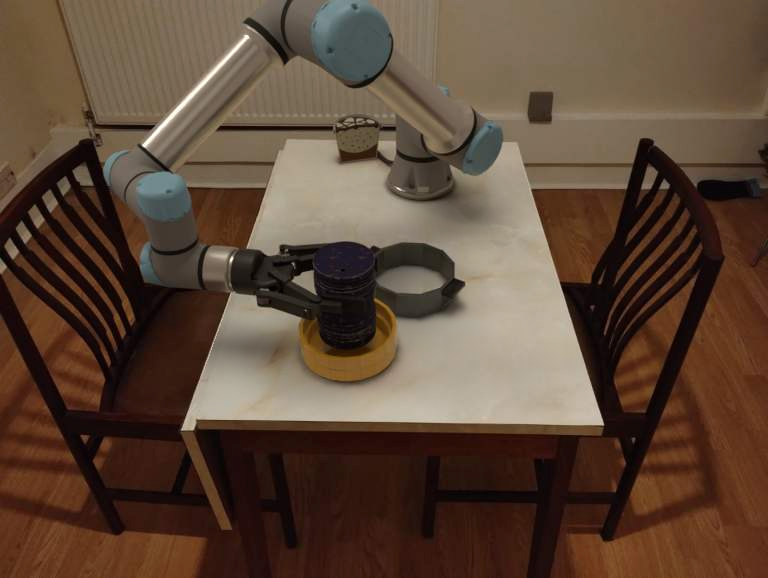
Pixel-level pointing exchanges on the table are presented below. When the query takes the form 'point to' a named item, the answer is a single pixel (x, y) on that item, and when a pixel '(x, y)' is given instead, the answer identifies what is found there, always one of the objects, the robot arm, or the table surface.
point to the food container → (357, 137)
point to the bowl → (350, 361)
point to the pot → (416, 256)
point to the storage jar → (346, 293)
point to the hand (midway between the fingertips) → (371, 284)
